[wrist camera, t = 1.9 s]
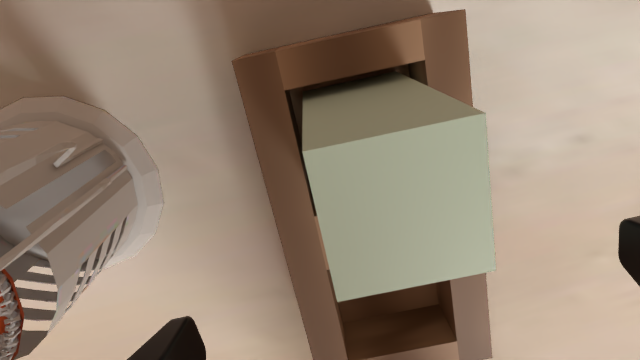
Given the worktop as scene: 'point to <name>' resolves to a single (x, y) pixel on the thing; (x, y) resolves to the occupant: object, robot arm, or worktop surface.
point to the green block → (397, 184)
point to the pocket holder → (298, 205)
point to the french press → (66, 206)
